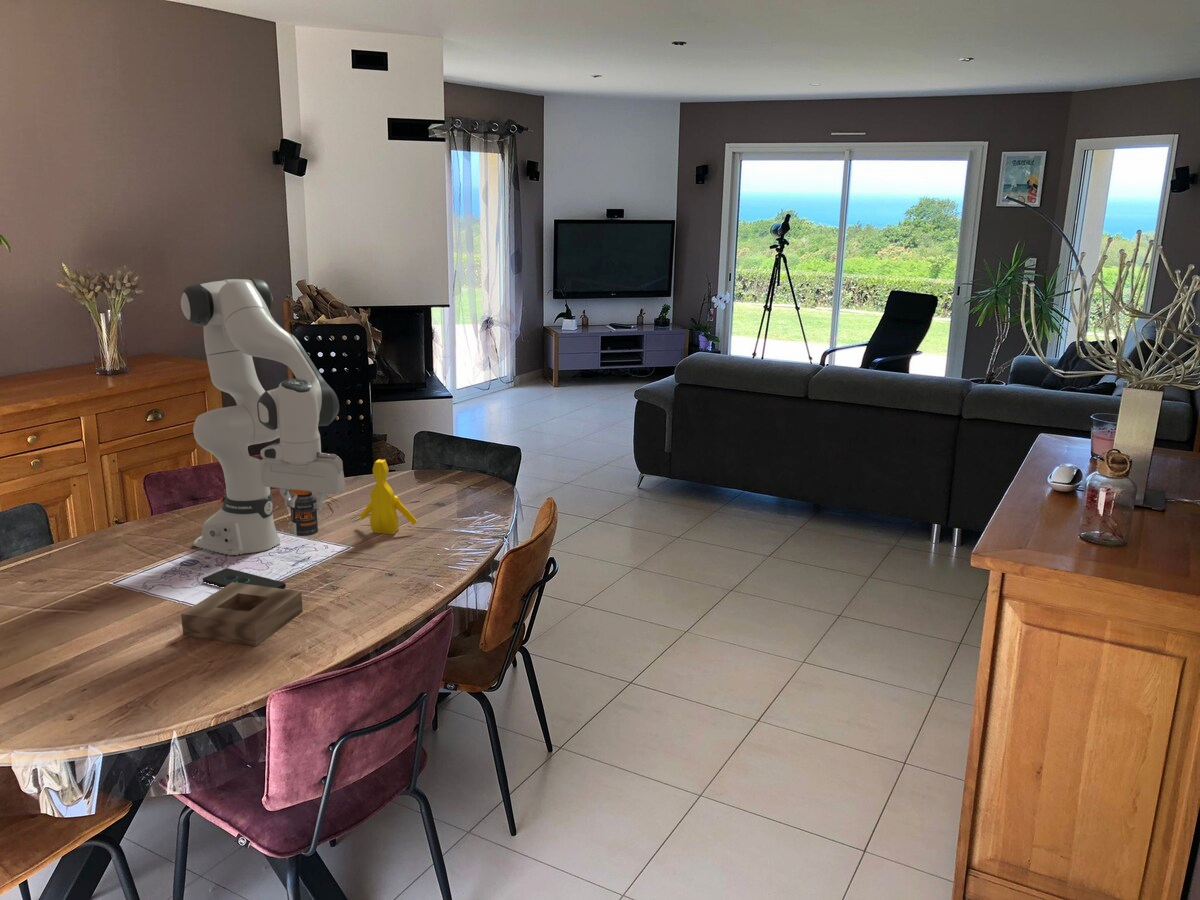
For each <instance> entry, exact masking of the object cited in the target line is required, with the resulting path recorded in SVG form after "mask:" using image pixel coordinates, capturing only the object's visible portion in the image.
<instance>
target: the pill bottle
mask: <svg viewBox="0 0 1200 900" xmlns="http://www.w3.org/2000/svg"><path fill="white" fill-rule="evenodd" d="M293 494H294V495H292V496H291V499H290V506H291V507H290V518H291V532H292V535H293V536H296V537H302V538H303V537H311V536H314V535H316V534H317V533H319V518H318V517H319V515H318V513H319V512H318V510H314V509H313V507H314V506H313V503H314V502H316V501H317V500H318V498H317V495H315V494H313V492H309V491H303V490H297V489H295V490H293Z"/></svg>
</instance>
